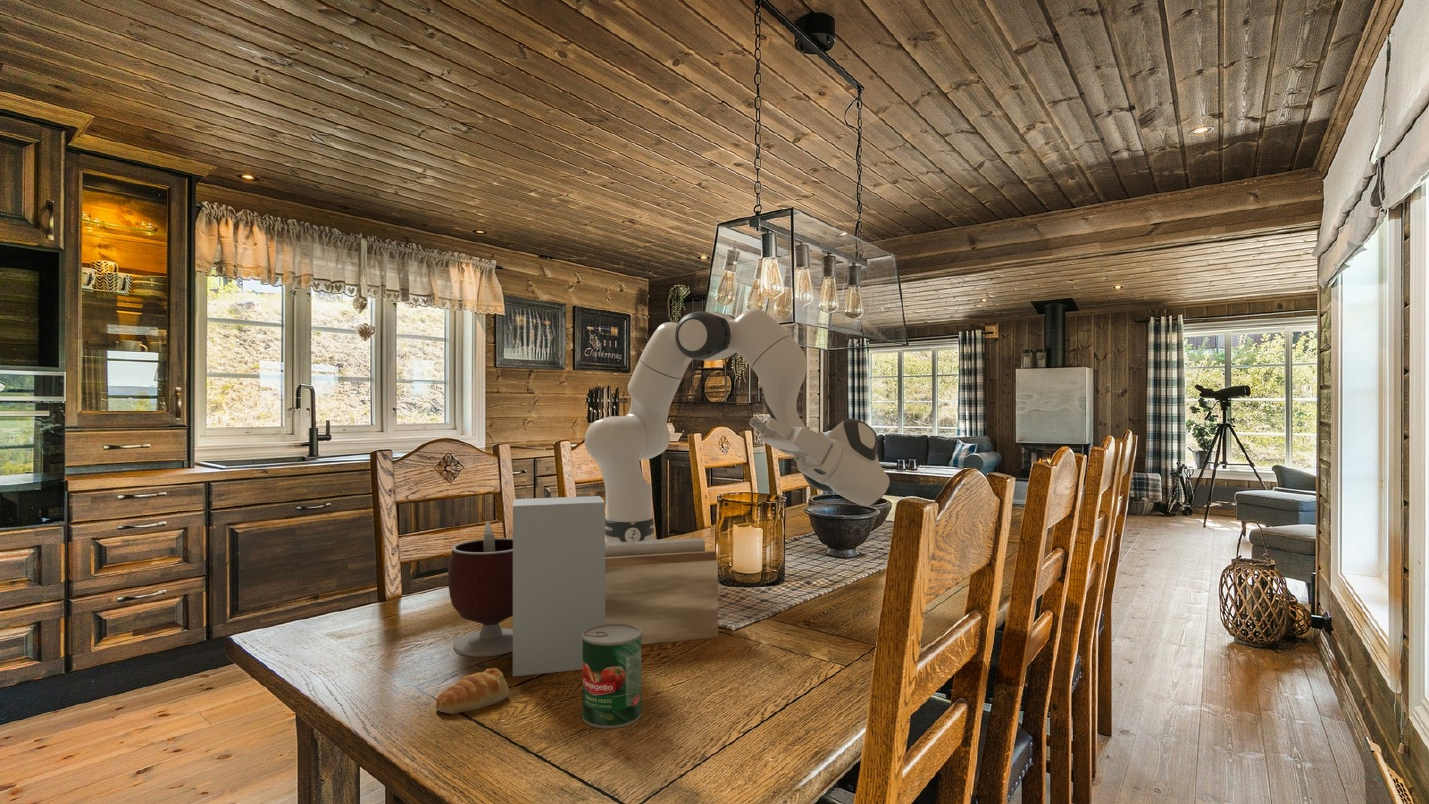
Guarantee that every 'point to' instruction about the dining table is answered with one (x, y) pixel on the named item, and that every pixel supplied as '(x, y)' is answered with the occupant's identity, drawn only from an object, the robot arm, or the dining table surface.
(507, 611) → the mate gourd
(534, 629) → the grey tall block
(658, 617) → the cradle block
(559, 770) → the dining table surface
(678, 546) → the bar
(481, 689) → the pastry
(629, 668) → the canned tomato
